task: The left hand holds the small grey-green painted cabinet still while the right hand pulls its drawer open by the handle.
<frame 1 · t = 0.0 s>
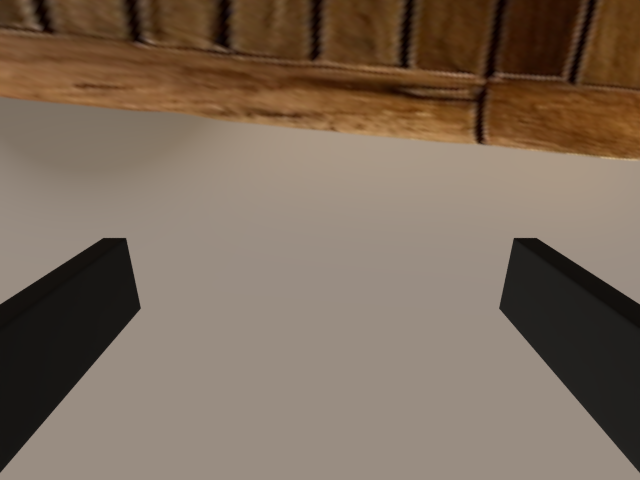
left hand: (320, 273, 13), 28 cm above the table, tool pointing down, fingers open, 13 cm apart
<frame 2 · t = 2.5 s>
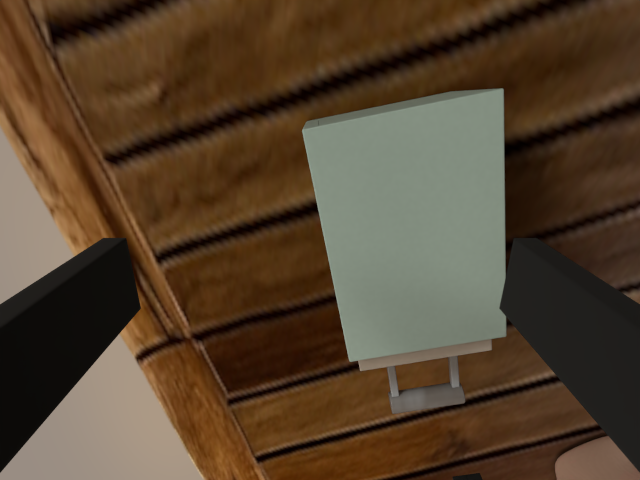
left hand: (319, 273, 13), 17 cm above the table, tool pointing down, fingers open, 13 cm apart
anatomical model: (610, 469, 41), on the table
cabinet: (390, 208, 30), on the table
drawer: (409, 288, 28), point 4 cm above the table, slide at 0.6 cm
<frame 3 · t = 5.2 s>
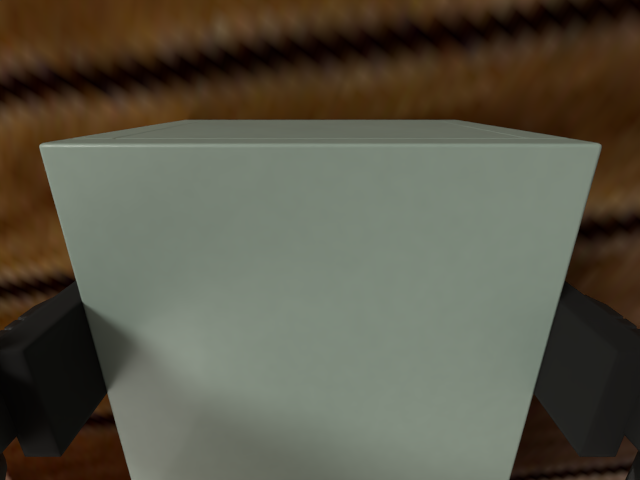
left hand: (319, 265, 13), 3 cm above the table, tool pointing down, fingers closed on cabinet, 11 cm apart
cabinet: (320, 294, 17), on the table, touching left hand
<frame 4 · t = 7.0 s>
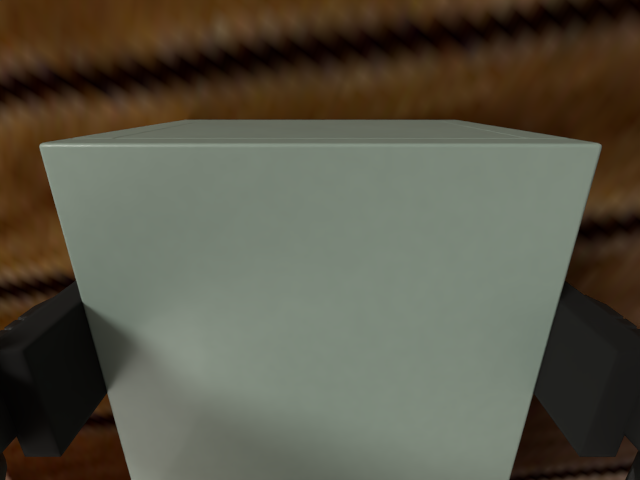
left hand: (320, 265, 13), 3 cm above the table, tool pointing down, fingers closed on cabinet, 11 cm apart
cabinet: (320, 294, 17), on the table, touching left hand
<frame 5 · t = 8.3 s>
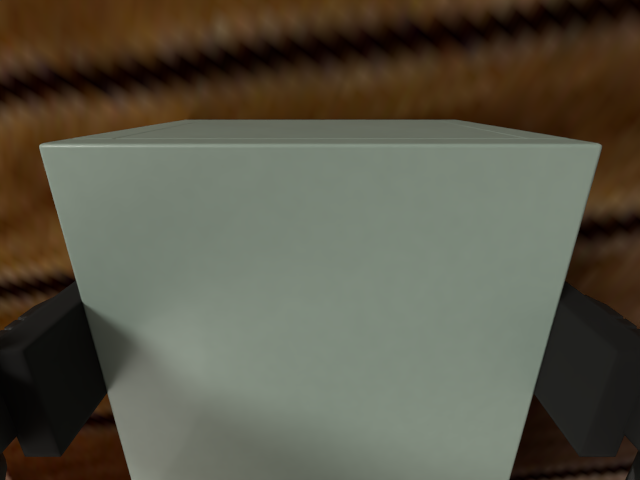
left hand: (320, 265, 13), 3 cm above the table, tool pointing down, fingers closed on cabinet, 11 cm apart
cabinet: (320, 294, 17), on the table, touching left hand
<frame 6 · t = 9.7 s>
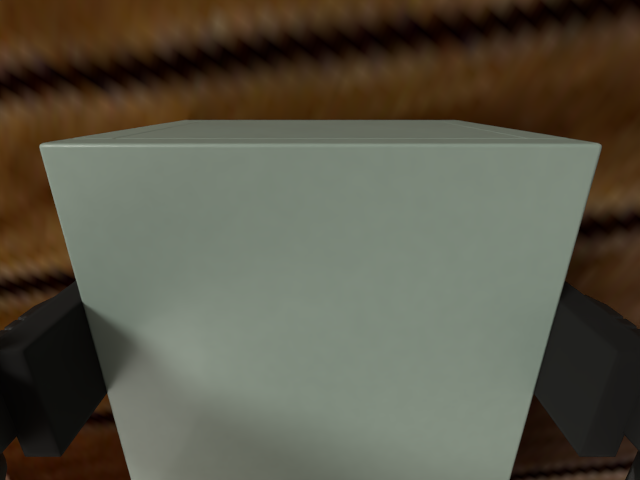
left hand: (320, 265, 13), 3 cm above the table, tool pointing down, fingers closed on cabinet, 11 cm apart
cabinet: (320, 294, 17), on the table, touching left hand
when the left hand's fingers open (3 cm above the table, at t = 10.4 s): cabinet stays where it is, on the table.
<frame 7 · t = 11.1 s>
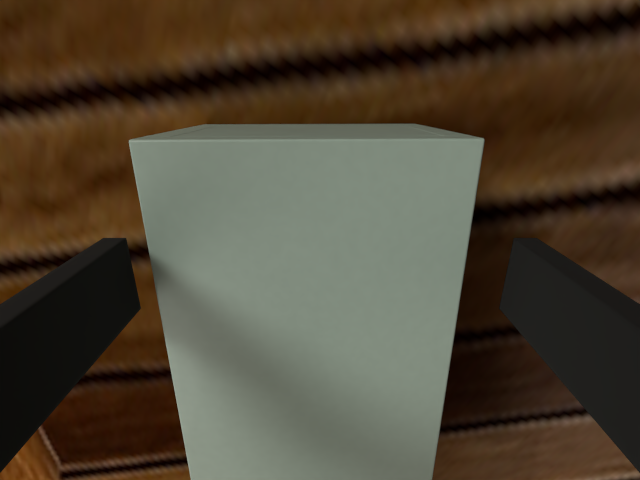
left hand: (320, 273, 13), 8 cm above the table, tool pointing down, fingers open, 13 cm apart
cabinet: (311, 265, 21), on the table
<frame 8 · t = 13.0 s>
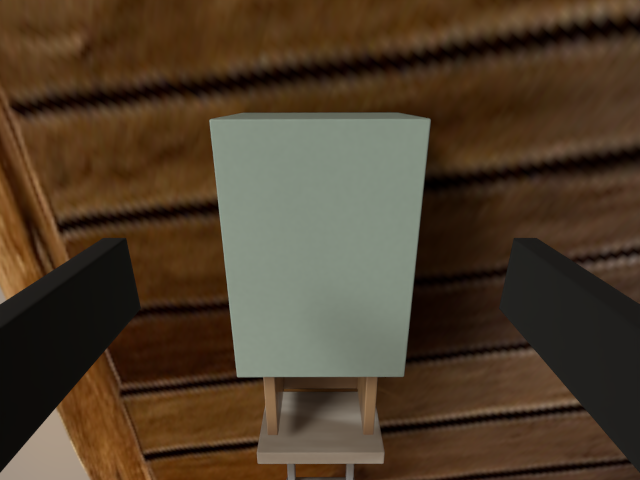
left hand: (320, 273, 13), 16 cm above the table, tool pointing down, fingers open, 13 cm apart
cabinet: (320, 221, 28), on the table
drawer: (320, 389, 29), point 4 cm above the table, slide at 8.1 cm
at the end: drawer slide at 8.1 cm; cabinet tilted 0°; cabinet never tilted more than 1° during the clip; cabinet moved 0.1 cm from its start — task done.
